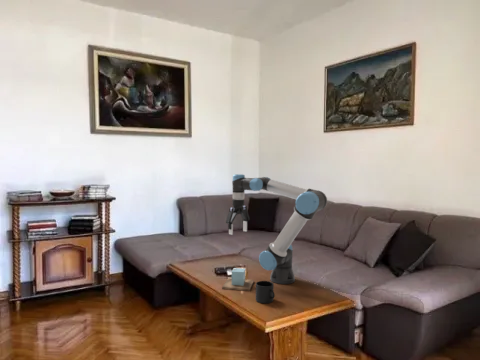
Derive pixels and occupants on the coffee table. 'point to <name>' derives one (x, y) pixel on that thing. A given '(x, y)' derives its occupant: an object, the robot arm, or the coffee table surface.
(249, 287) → the post base
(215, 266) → the coffee table surface
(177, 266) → the coffee table surface
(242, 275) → the light blue block
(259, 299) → the mug
